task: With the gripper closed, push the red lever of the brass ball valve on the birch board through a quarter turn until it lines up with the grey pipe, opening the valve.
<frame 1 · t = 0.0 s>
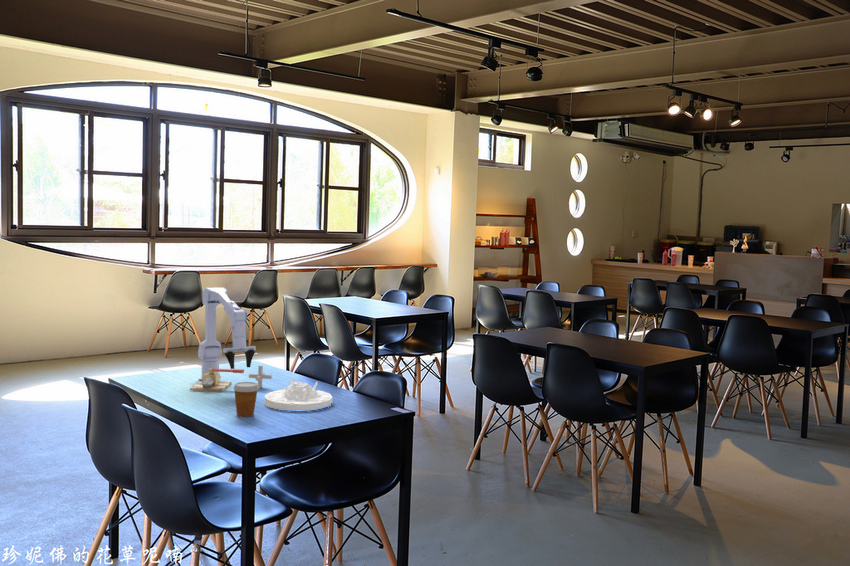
hand: (240, 368, 311), 11 cm above the table, tool pointing down, fingers open, 7 cm apart
pipe connector: (259, 387, 322), on the table
disposable coffee cup: (245, 415, 273), on the table
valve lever: (226, 370, 317), point 8 cm above the table, hinge at 90.0°
ball valve: (211, 387, 317), resting on mounting board
mounting board: (211, 387, 317), on the table
cake: (298, 404, 295), on the table
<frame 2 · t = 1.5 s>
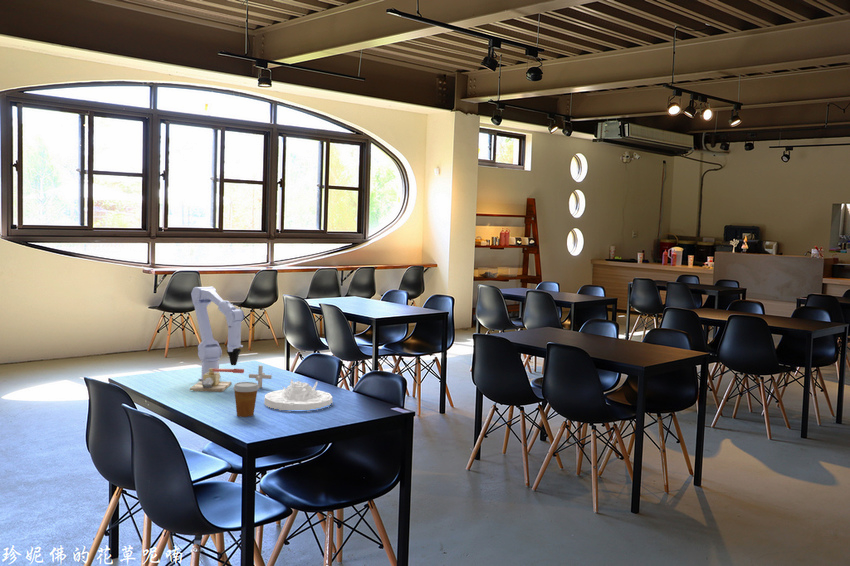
hand: (233, 365, 324), 9 cm above the table, tool pointing down, fingers closed
nothing on the table moved.
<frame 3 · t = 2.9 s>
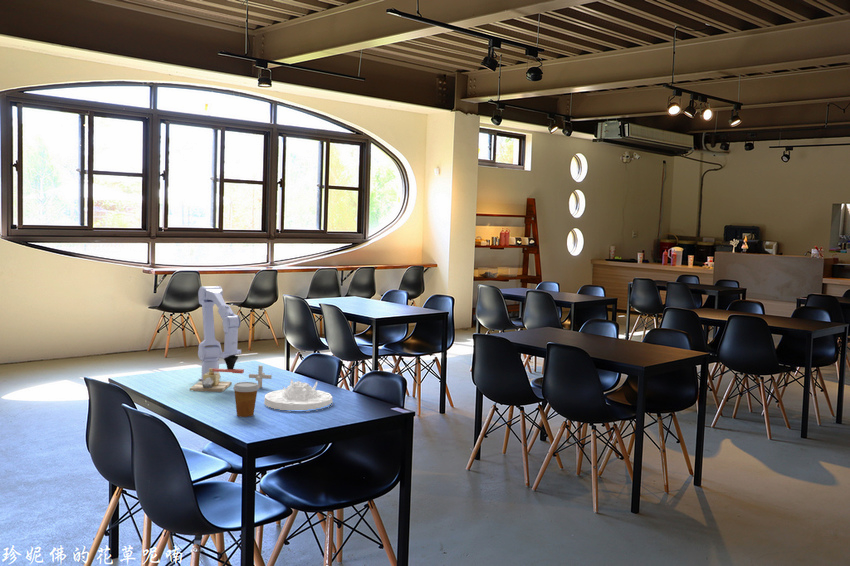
hand: (230, 372, 319), 7 cm above the table, tool pointing down, fingers closed, pressing on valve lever
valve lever: (225, 370, 317), point 8 cm above the table, hinge at 87.0°, touching gripper
everything else where it was.
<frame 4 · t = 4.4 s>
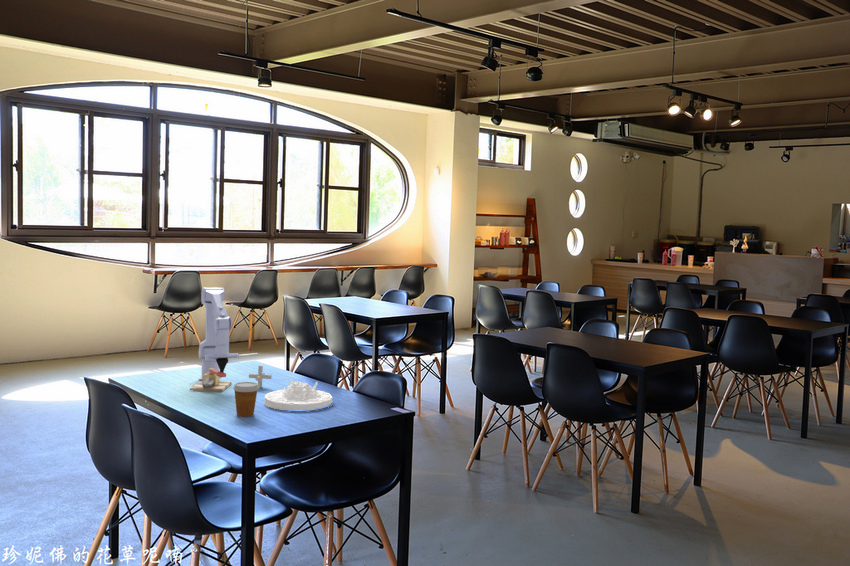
hand: (221, 374, 312), 7 cm above the table, tool pointing down, fingers closed, pressing on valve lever
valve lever: (216, 372, 312), point 8 cm above the table, hinge at 35.7°, touching gripper
everything else where it was.
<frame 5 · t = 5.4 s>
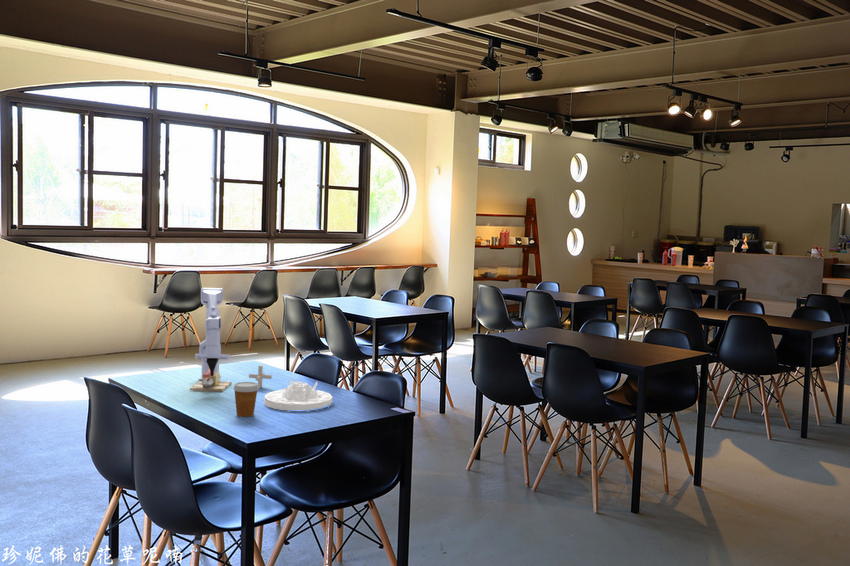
hand: (212, 375, 309), 7 cm above the table, tool pointing down, fingers closed
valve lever: (209, 372, 310), point 8 cm above the table, hinge at 6.3°, touching gripper
everything else where it was.
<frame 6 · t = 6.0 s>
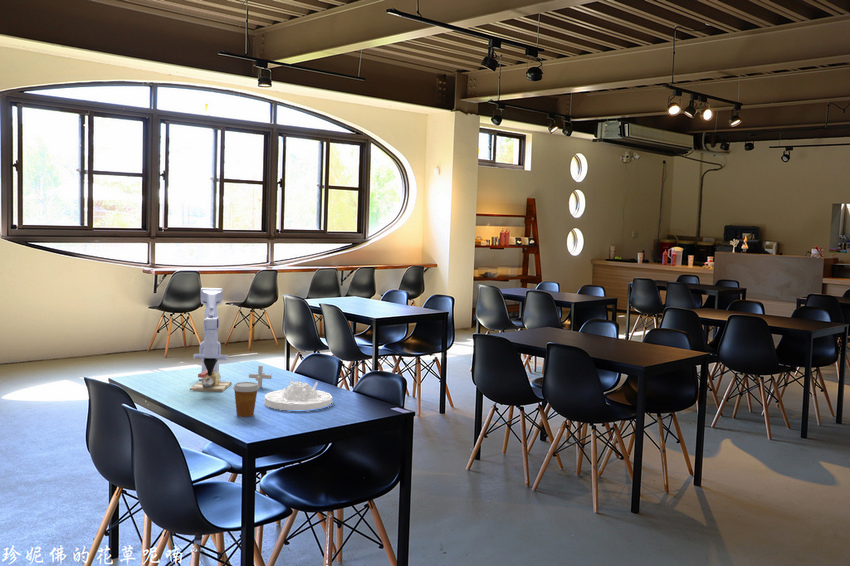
hand: (210, 375, 309), 7 cm above the table, tool pointing down, fingers closed
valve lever: (206, 372, 310), point 8 cm above the table, hinge at -1.9°, touching gripper
everything else where it was.
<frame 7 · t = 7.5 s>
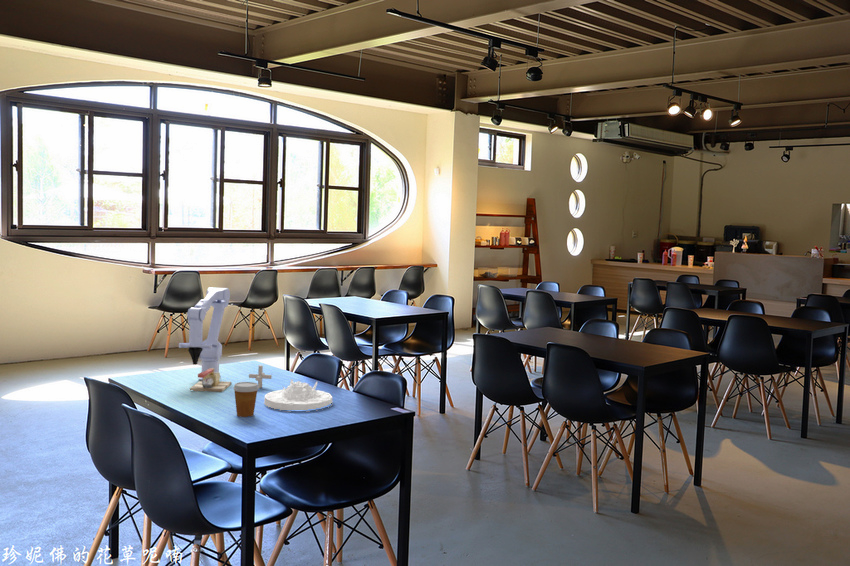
hand: (195, 364, 319), 10 cm above the table, tool pointing down, fingers closed
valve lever: (206, 372, 310), point 8 cm above the table, hinge at -2.3°
everything else where it was.
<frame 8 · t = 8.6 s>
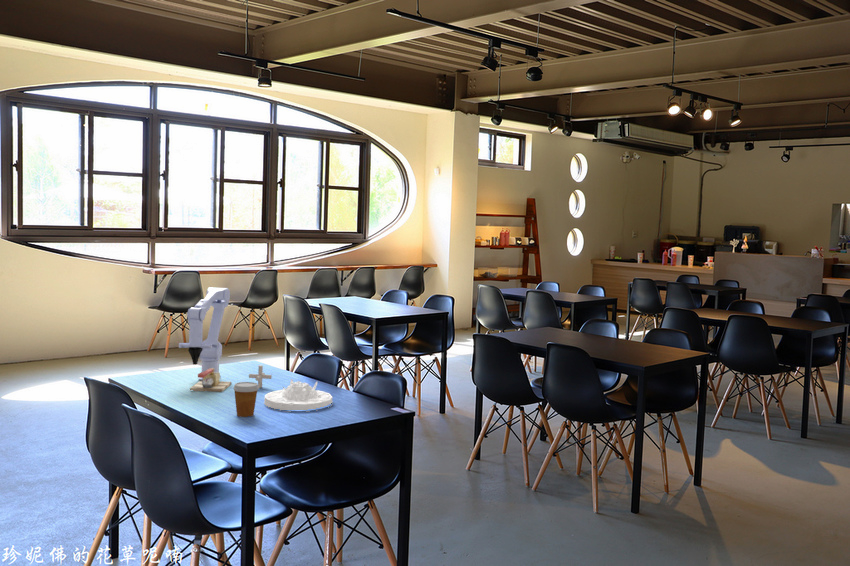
hand: (195, 364, 319), 10 cm above the table, tool pointing down, fingers closed
nothing on the table moved.
at the end: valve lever at -2° (first picture: +90°); pipe connector moved 0.2 cm from its start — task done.
